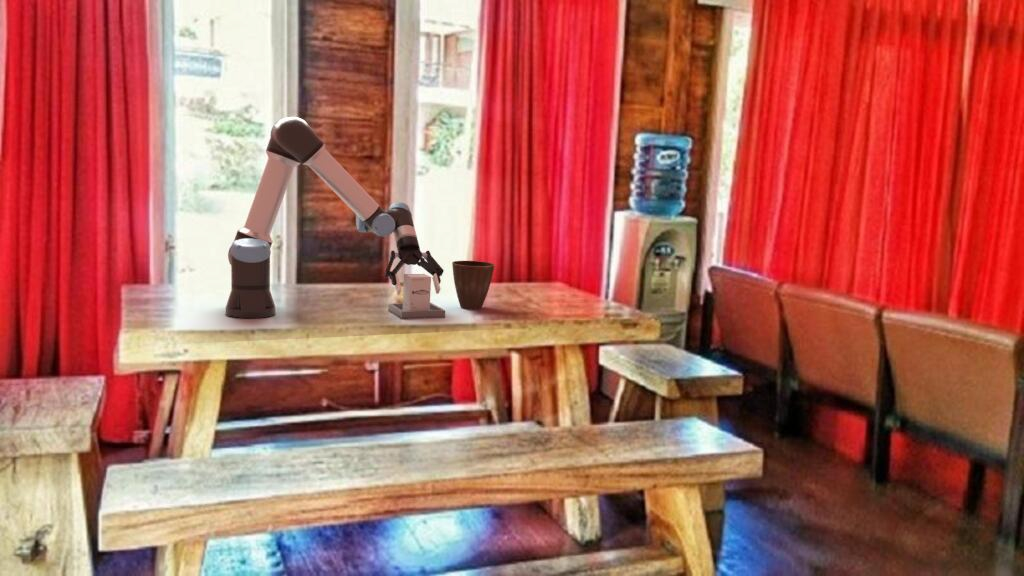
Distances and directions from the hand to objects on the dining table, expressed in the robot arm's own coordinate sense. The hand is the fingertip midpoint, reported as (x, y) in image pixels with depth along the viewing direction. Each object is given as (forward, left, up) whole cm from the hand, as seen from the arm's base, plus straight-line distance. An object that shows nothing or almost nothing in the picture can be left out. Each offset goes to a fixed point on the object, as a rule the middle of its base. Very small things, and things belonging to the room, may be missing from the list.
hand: (419, 291), depth 267 cm
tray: (0, +2, -8) cm, 8 cm away
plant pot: (+23, +9, -8) cm, 26 cm away
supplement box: (0, +2, -7) cm, 8 cm away
